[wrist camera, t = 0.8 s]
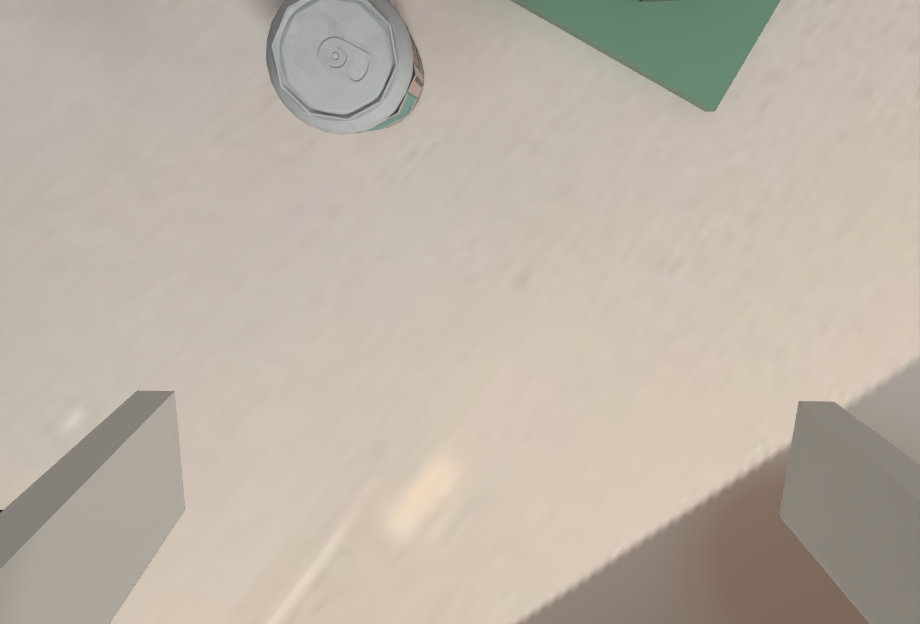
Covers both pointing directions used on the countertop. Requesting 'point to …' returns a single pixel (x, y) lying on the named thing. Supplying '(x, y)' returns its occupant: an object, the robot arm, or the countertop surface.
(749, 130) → the countertop surface
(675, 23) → the green board with ring
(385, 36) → the beer can
